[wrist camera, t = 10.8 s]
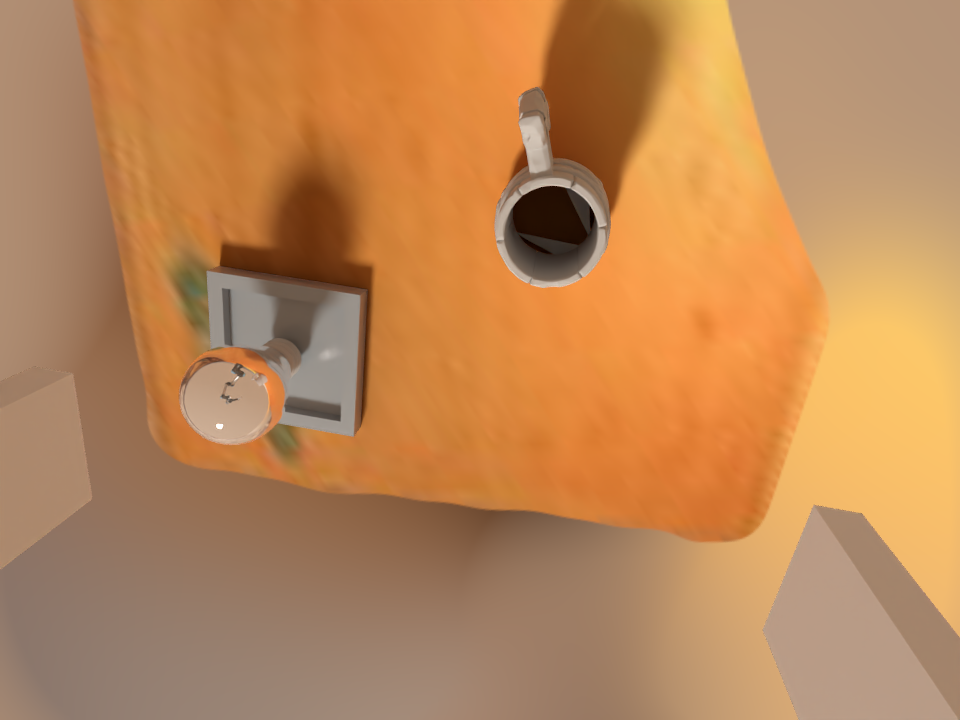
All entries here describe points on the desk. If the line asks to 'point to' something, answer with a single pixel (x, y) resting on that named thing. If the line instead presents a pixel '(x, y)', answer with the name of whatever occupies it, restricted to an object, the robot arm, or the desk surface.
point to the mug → (549, 171)
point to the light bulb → (238, 390)
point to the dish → (299, 339)
